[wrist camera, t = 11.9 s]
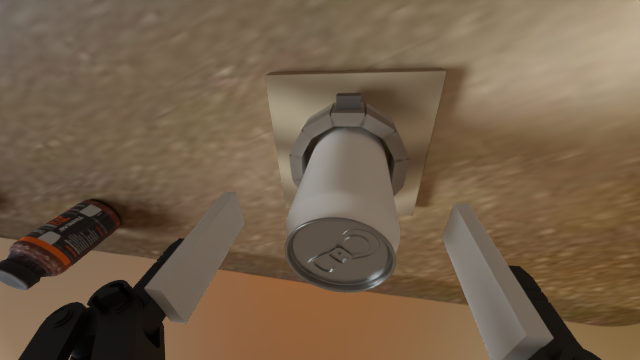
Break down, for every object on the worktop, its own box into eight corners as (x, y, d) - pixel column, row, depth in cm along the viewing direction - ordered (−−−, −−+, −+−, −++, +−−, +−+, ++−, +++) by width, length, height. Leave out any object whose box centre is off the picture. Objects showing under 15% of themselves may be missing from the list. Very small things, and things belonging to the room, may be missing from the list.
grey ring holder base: (270, 72, 20) (249, 82, 16) (440, 68, 18) (461, 77, 14) (289, 199, 28) (277, 225, 24) (410, 206, 25) (418, 236, 22)
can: (399, 154, 21) (435, 268, 11) (349, 193, 24) (340, 309, 14) (348, 105, 19) (334, 185, 9) (301, 154, 22) (253, 253, 12)
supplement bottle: (94, 192, 32) (-15, 257, 23) (130, 220, 35) (44, 290, 25) (76, 206, 35) (-28, 270, 25) (111, 231, 37) (27, 299, 28)
